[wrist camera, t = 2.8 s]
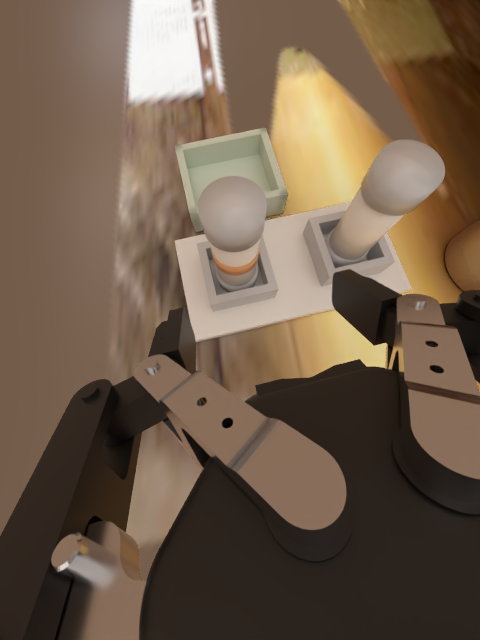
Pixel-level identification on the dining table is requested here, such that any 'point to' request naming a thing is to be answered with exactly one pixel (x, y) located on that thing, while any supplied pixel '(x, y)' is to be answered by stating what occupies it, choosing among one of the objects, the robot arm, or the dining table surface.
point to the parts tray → (231, 168)
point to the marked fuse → (233, 229)
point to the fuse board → (278, 275)
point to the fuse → (385, 198)
